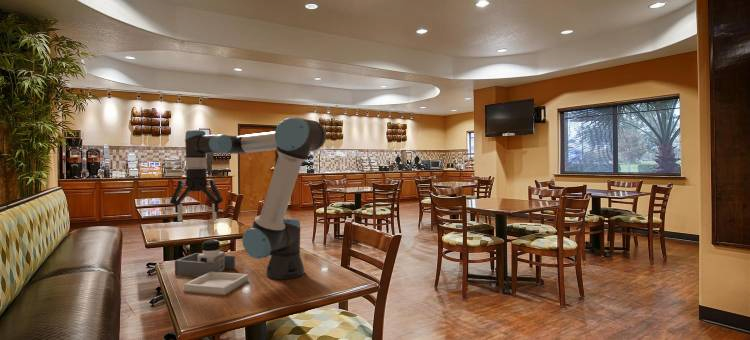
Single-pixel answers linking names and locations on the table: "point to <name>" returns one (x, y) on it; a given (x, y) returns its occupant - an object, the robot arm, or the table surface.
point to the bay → (200, 265)
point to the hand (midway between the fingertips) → (197, 220)
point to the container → (212, 254)
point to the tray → (216, 283)
